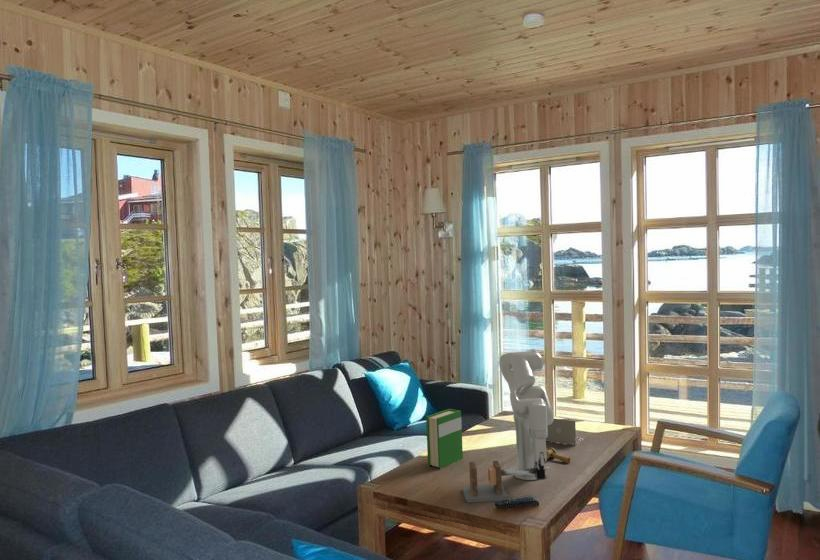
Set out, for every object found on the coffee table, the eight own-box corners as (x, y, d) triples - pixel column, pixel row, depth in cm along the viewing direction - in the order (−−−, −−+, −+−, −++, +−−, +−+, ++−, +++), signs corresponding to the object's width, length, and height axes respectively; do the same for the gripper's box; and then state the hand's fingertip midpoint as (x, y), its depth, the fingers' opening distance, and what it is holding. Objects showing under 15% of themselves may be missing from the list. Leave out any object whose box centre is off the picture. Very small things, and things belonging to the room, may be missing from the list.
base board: (502, 487, 266) (502, 484, 266) (508, 500, 252) (508, 496, 252) (462, 489, 266) (462, 486, 266) (466, 502, 252) (466, 499, 252)
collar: (494, 479, 262) (493, 465, 262) (496, 484, 256) (495, 470, 256) (488, 479, 262) (487, 465, 262) (490, 485, 256) (490, 470, 256)
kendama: (573, 463, 298) (539, 451, 310) (573, 451, 296) (539, 440, 308) (565, 470, 292) (531, 458, 304) (565, 458, 291) (531, 446, 302)
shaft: (542, 476, 261) (541, 461, 261) (544, 479, 257) (544, 465, 257) (493, 478, 261) (492, 464, 261) (495, 481, 257) (494, 467, 257)
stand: (498, 487, 263) (497, 460, 263) (502, 494, 255) (501, 467, 255) (470, 488, 263) (469, 462, 262) (472, 495, 255) (471, 468, 254)
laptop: (584, 440, 330) (583, 415, 330) (576, 446, 320) (575, 421, 320) (551, 435, 340) (550, 412, 340) (542, 441, 330) (541, 417, 330)
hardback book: (440, 469, 292) (438, 418, 292) (428, 466, 297) (426, 416, 297) (462, 459, 306) (461, 410, 305) (450, 456, 311) (449, 408, 310)
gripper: (525, 427, 267) (526, 470, 268) (533, 438, 250) (535, 484, 251) (542, 426, 267) (544, 469, 268) (552, 438, 250) (553, 483, 251)
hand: (539, 475), depth 259 cm, fingers closed on shaft, 4 cm apart
